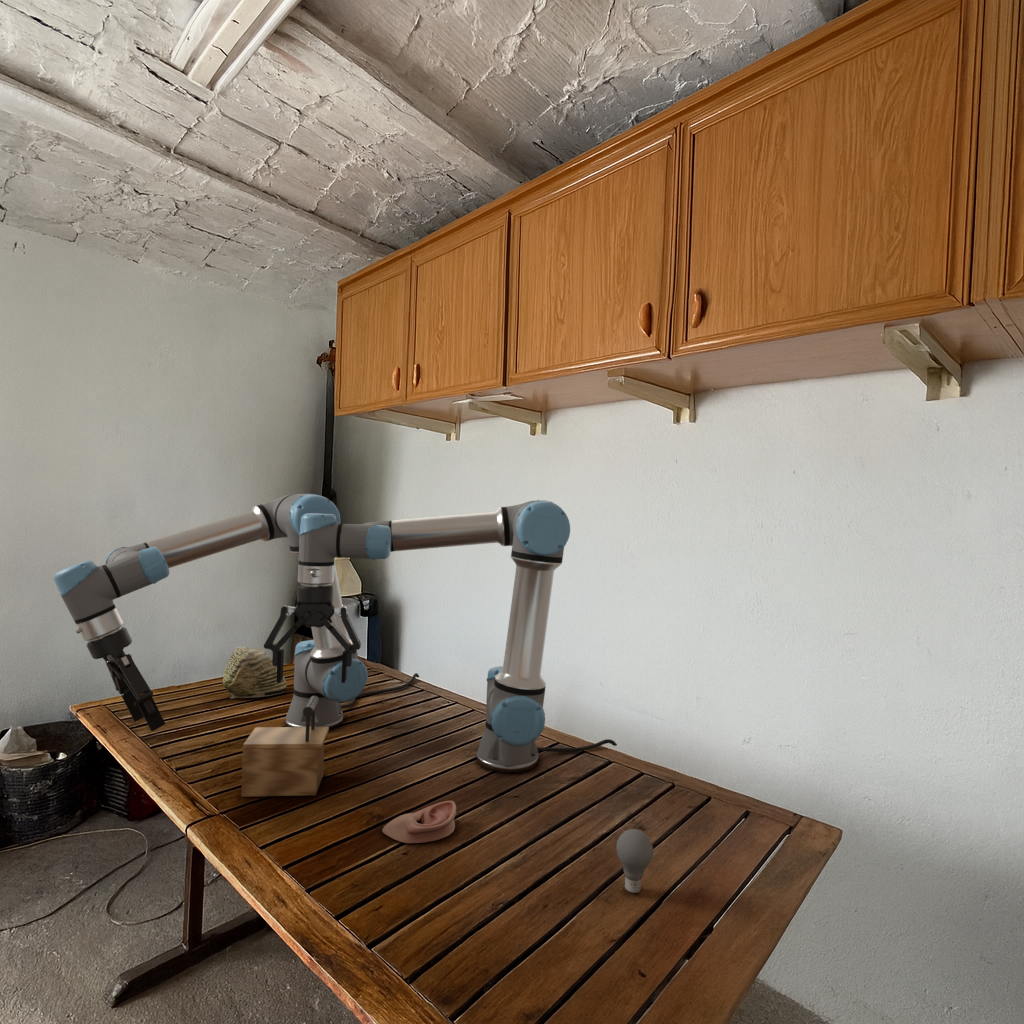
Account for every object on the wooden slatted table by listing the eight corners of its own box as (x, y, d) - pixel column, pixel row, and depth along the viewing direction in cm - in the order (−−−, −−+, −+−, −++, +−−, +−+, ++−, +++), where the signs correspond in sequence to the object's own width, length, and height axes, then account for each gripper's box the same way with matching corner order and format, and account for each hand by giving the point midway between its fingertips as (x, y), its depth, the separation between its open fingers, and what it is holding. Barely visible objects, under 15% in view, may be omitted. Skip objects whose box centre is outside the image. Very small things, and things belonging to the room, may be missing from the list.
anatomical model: (376, 817, 118) (399, 790, 129) (375, 838, 118) (398, 809, 129) (444, 828, 115) (461, 799, 127) (443, 849, 115) (461, 819, 127)
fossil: (218, 695, 195) (220, 647, 195) (278, 685, 208) (279, 640, 207) (228, 703, 189) (230, 653, 188) (289, 692, 201) (290, 645, 201)
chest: (323, 775, 144) (325, 730, 144) (315, 795, 134) (317, 748, 134) (253, 776, 142) (255, 731, 142) (241, 796, 132) (242, 748, 132)
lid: (328, 730, 144) (330, 694, 144) (321, 747, 134) (323, 708, 134) (255, 731, 142) (256, 693, 142) (242, 748, 132) (244, 708, 132)
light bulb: (610, 879, 108) (613, 822, 108) (644, 879, 109) (647, 822, 109) (619, 902, 102) (622, 840, 102) (655, 901, 103) (658, 840, 103)
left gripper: (74, 639, 138) (117, 724, 142) (98, 646, 120) (146, 743, 124) (111, 623, 143) (151, 705, 147) (139, 627, 125) (185, 720, 129)
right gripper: (251, 585, 133) (247, 685, 133) (372, 588, 136) (368, 686, 136) (260, 580, 140) (256, 675, 140) (375, 583, 144) (371, 676, 144)
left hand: (149, 722), depth 135 cm, fingers open, 13 cm apart
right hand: (312, 681), depth 138 cm, fingers open, 13 cm apart
